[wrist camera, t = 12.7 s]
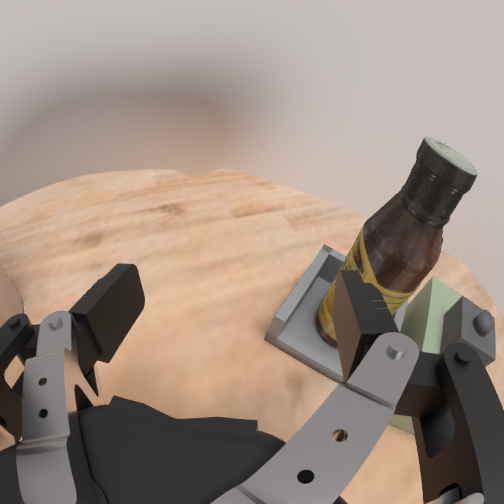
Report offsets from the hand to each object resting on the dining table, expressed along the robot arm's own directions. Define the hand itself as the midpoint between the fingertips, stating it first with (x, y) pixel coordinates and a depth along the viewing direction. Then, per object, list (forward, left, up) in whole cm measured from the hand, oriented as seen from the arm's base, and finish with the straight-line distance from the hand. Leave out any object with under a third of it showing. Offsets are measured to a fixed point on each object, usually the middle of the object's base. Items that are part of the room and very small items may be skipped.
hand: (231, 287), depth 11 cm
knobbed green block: (+11, +12, -15) cm, 22 cm away
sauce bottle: (+6, +12, -14) cm, 20 cm away
